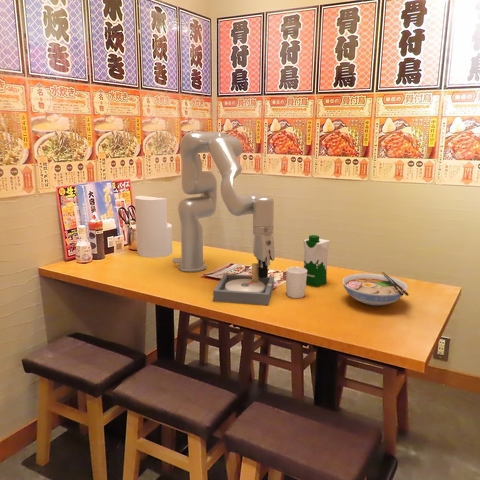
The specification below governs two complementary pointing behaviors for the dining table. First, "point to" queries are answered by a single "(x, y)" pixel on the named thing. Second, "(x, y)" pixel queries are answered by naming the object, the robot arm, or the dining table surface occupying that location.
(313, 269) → the milk carton
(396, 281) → the ramen bowl
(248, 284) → the dial
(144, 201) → the cylinder
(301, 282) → the white cup
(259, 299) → the dial housing
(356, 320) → the dining table surface
